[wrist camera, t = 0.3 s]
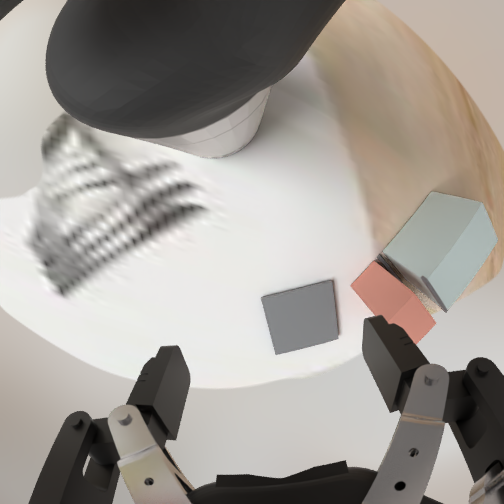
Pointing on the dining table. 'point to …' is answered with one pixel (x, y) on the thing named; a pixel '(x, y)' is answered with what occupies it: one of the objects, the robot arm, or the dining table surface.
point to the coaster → (301, 317)
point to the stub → (393, 301)
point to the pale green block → (442, 246)
